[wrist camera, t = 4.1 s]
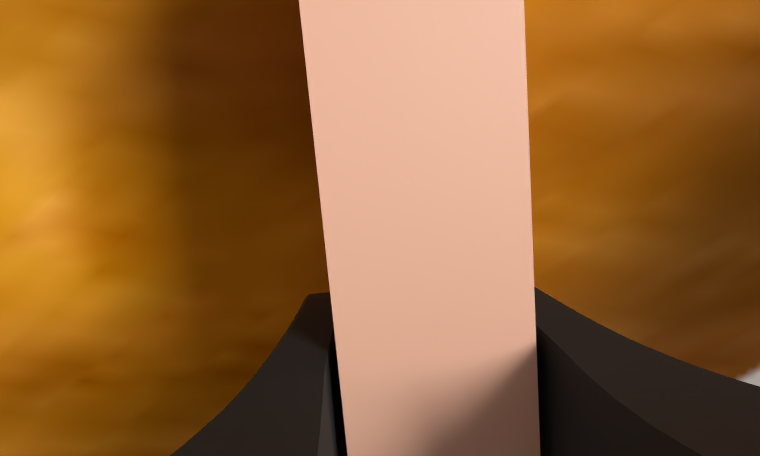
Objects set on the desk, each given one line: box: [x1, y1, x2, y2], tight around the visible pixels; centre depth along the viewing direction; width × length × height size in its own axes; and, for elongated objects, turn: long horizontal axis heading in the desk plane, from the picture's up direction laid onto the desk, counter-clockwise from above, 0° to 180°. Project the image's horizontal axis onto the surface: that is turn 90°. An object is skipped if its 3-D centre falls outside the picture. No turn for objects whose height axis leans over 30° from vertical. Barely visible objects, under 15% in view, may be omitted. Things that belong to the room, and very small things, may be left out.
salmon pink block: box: [299, 0, 540, 456], centre depth 10 cm, size 3×12×6 cm, turn 4°
